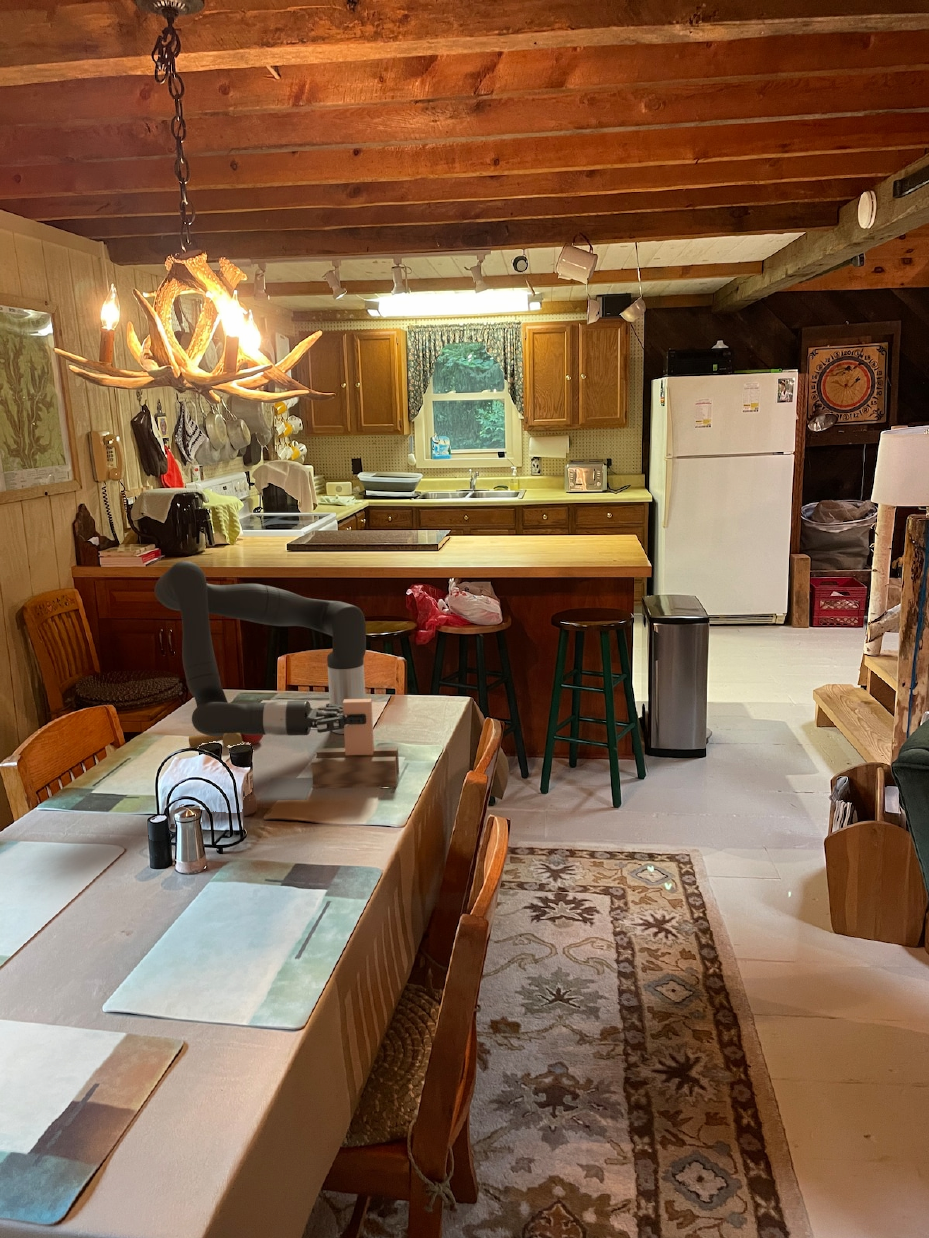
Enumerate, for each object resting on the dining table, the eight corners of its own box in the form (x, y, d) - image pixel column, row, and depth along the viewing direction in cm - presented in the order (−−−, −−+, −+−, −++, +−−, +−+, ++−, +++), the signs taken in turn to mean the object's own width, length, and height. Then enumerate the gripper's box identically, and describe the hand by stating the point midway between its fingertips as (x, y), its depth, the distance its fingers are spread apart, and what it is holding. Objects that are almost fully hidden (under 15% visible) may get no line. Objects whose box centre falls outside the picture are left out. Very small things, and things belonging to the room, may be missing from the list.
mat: (259, 802, 191) (259, 800, 191) (271, 780, 203) (271, 778, 202) (306, 800, 191) (306, 799, 191) (316, 778, 202) (316, 777, 202)
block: (345, 755, 198) (342, 702, 196) (346, 751, 200) (344, 699, 198) (372, 754, 198) (370, 701, 196) (373, 750, 200) (371, 698, 198)
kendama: (189, 759, 221) (263, 744, 222) (184, 733, 221) (258, 719, 222) (196, 753, 229) (267, 739, 230) (191, 728, 228) (262, 715, 230)
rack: (313, 789, 196) (311, 762, 195) (319, 774, 205) (318, 748, 204) (396, 787, 196) (394, 760, 195) (399, 772, 205) (398, 746, 204)
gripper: (279, 711, 190) (362, 710, 190) (292, 692, 204) (369, 691, 203) (282, 745, 192) (363, 744, 192) (294, 724, 205) (370, 723, 205)
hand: (366, 716), depth 197 cm, fingers closed on block, 2 cm apart
